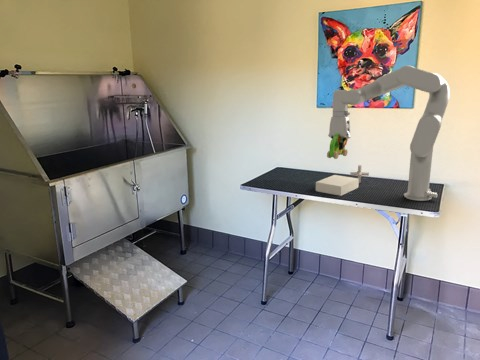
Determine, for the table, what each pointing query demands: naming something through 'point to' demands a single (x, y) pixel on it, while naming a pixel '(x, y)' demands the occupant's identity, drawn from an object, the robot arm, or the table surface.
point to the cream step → (337, 185)
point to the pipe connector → (359, 173)
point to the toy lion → (336, 147)
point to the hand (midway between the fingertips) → (338, 148)
